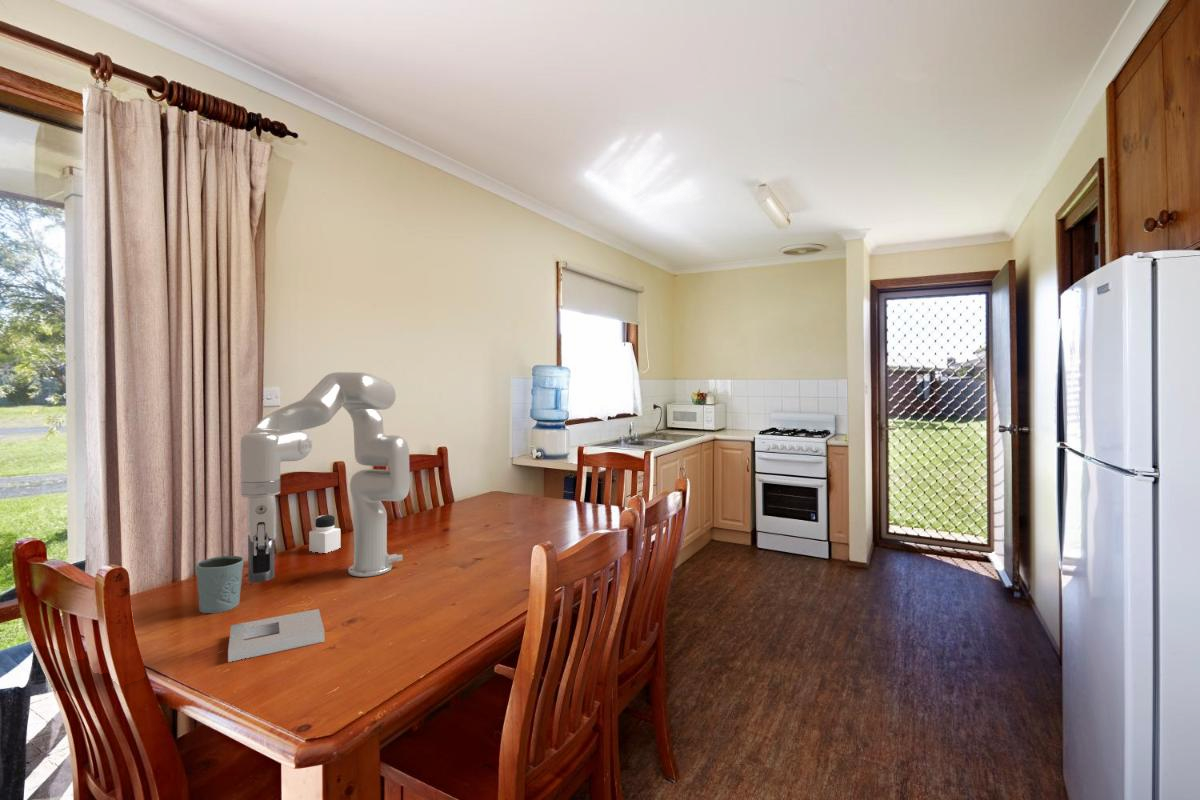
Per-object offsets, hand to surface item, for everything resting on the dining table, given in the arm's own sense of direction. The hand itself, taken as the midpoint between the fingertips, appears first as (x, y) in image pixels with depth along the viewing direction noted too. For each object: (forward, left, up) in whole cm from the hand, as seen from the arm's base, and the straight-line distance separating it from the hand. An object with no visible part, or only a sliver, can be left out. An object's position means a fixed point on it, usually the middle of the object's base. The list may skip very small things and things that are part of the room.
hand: (261, 567), depth 122 cm
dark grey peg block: (0, 0, -2) cm, 2 cm away
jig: (-3, 0, -17) cm, 17 cm away
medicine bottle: (-19, -68, -17) cm, 73 cm away
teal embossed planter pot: (+9, -28, -17) cm, 34 cm away
